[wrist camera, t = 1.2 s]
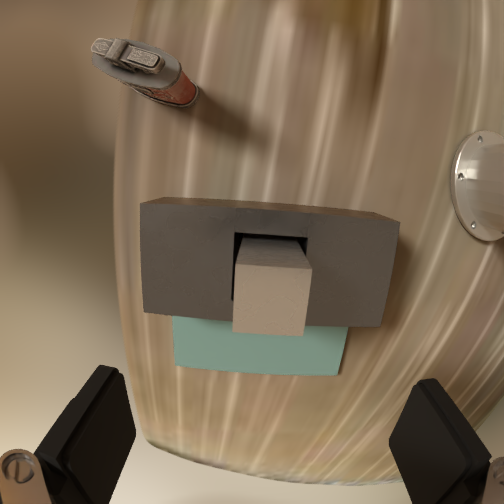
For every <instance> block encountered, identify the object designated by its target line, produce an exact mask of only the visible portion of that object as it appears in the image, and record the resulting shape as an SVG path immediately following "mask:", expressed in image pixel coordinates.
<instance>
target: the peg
mask: <svg viewBox="0 0 504 504" xmlns="http://www.w3.org/2000/svg"><path fill="white" fill-rule="evenodd" d="M311 276H312V268H311V266H310V264H309V262H308V260H307V258H306V256H305V255H304V253H303V251H302V249H301V247H300V245H299V243H298V242H297V240H296V238H295V236H283V235H269V234H255V233H244V235H243V239H242V243H241V246H240V250H239V253H238V257H237V261H236V265H235V284H234V306H233V328H232V332H238V333H251V334H267V335H286V336H303V333H304V326H305V320H306V313H307V306H308V299H309V292H310V284H311Z"/></svg>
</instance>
